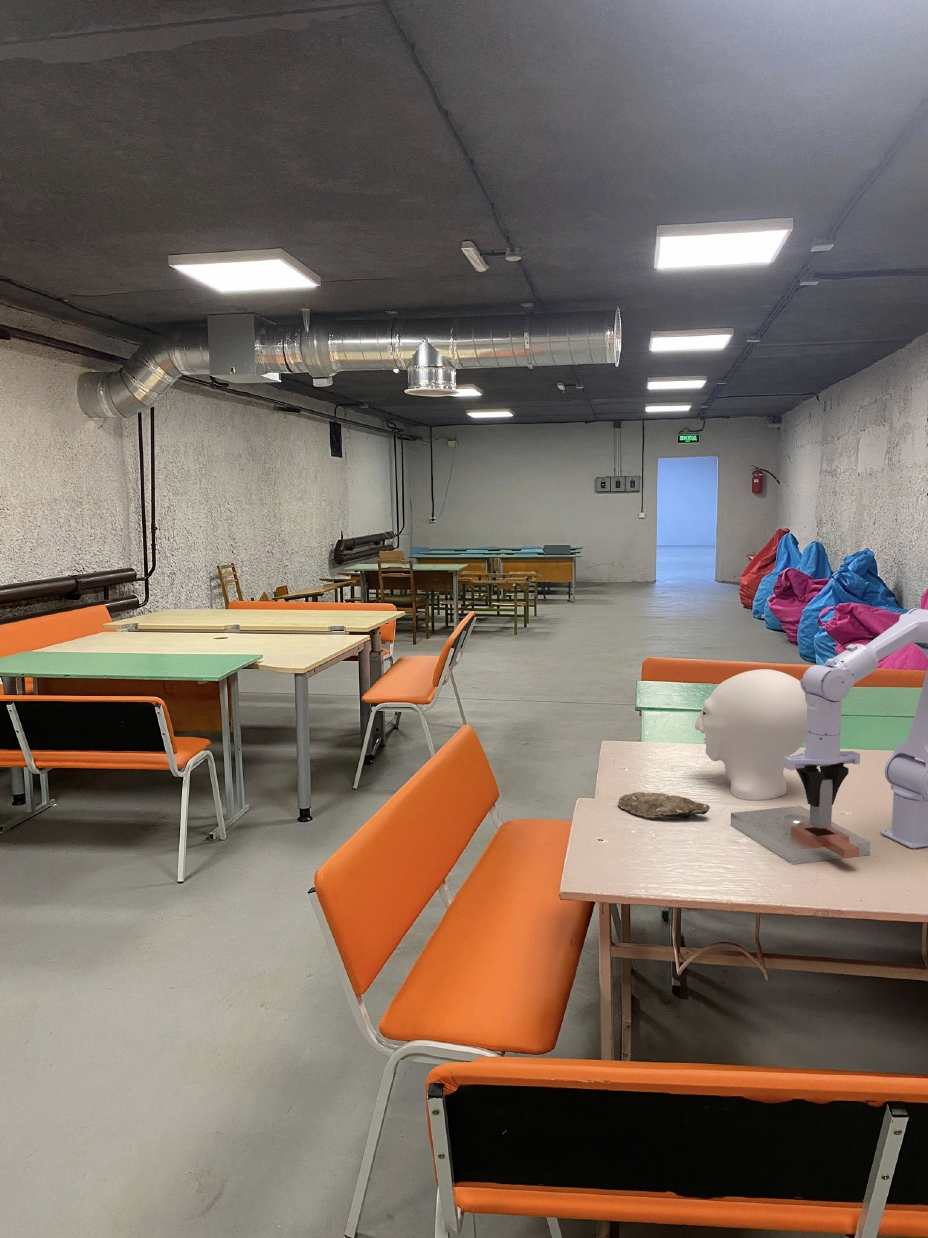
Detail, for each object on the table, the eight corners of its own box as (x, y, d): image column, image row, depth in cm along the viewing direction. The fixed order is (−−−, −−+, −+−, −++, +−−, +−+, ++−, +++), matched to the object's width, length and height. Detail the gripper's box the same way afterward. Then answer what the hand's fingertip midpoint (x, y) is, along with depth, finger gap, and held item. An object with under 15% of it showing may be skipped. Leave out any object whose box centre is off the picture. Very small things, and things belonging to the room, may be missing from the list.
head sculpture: (802, 811, 169) (806, 680, 166) (679, 787, 186) (681, 668, 183) (823, 789, 183) (827, 668, 180) (707, 769, 199) (709, 658, 196)
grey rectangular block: (821, 822, 149) (823, 775, 148) (831, 827, 146) (832, 779, 145) (809, 823, 148) (811, 776, 147) (818, 828, 145) (820, 780, 145)
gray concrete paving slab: (799, 817, 166) (800, 798, 165) (890, 866, 141) (891, 844, 141) (730, 825, 162) (731, 805, 161) (811, 876, 138) (811, 853, 137)
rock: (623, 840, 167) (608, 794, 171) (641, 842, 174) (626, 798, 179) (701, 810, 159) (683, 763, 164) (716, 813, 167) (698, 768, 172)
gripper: (842, 724, 151) (839, 793, 152) (774, 729, 147) (772, 800, 149) (869, 733, 144) (866, 806, 145) (798, 738, 141) (796, 813, 142)
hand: (820, 804), depth 147 cm, fingers closed on grey rectangular block, 3 cm apart
